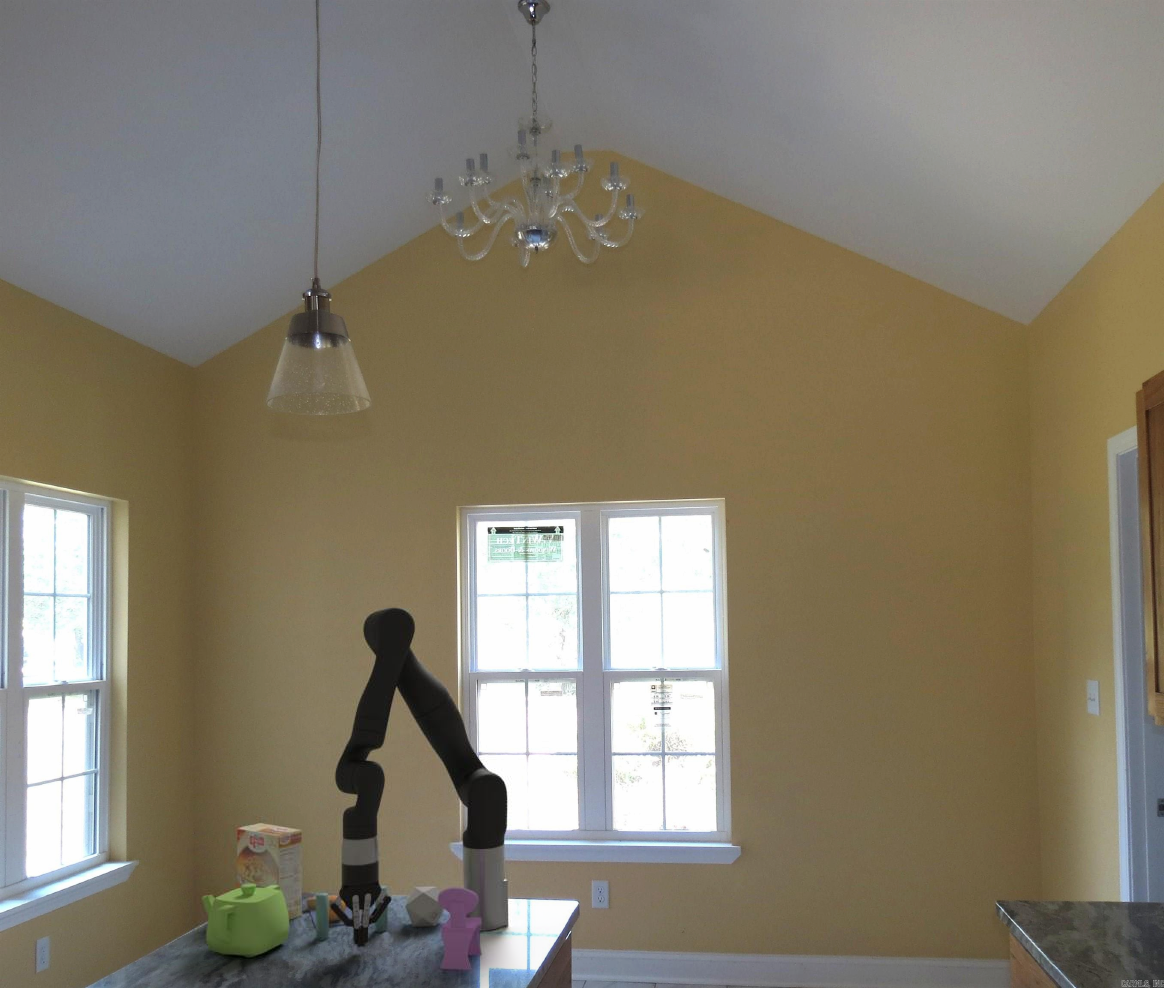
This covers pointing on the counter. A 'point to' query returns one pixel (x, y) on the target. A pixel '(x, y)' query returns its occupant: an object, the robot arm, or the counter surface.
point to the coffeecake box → (272, 861)
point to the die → (424, 906)
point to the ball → (332, 915)
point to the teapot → (246, 920)
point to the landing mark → (339, 922)
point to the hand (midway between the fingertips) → (360, 945)
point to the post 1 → (322, 916)
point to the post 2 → (382, 921)
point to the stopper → (314, 902)
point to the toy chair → (459, 928)
